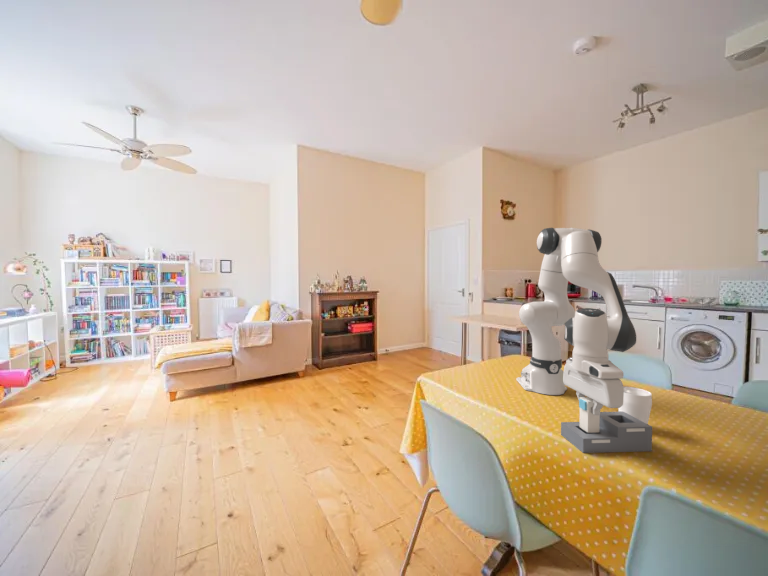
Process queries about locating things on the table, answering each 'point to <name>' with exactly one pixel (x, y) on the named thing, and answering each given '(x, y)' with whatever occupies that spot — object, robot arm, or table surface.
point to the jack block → (610, 434)
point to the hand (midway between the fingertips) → (589, 410)
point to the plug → (588, 416)
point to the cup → (637, 403)
